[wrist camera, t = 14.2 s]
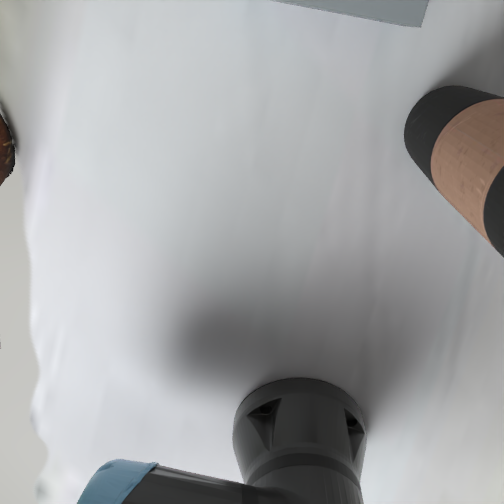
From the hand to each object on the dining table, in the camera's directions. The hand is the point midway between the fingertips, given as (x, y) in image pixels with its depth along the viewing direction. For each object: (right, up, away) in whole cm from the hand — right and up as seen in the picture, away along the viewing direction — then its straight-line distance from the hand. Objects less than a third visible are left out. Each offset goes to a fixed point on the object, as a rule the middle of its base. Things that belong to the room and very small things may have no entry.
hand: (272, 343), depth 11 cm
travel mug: (+16, +13, +30) cm, 36 cm away
